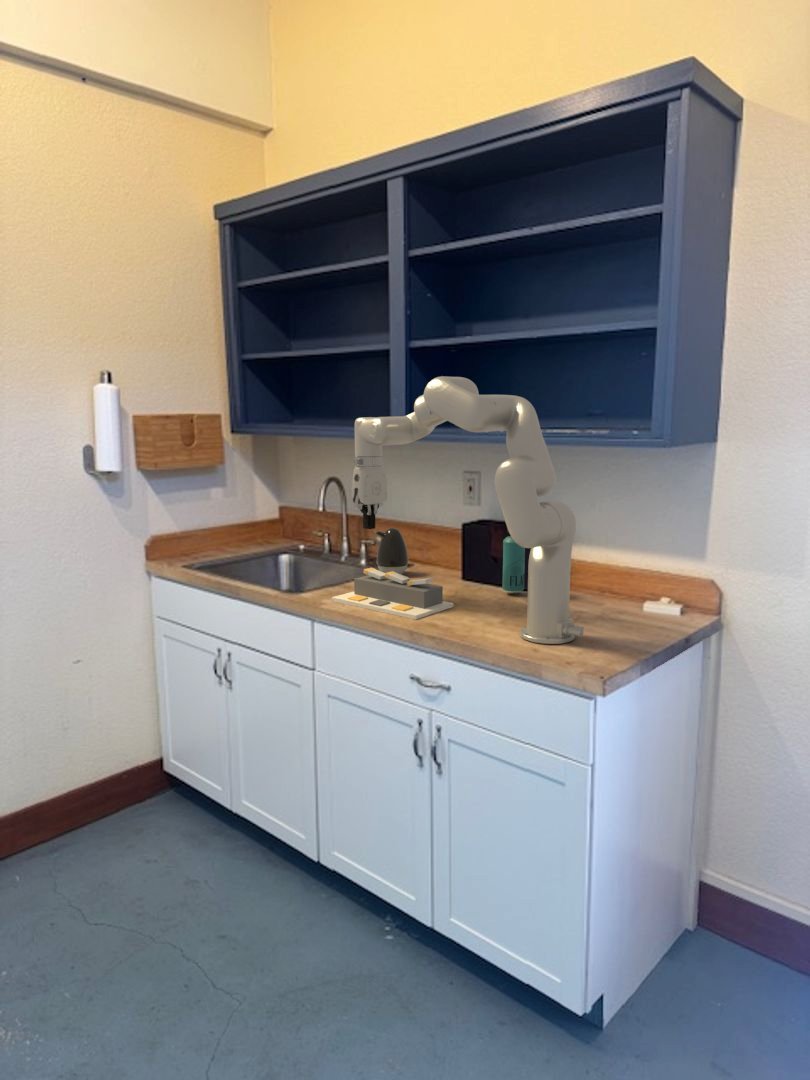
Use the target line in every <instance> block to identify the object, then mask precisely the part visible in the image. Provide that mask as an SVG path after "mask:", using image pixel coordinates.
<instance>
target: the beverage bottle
mask: <svg viewBox="0 0 810 1080" xmlns="http://www.w3.org/2000/svg"><path fill="white" fill-rule="evenodd" d="M506 528H507V527H506ZM506 533H507V534H510V533H509V531H508V528H507V529H506ZM526 549H527V548H524V547H521V546H519V545H518V544H517V543H516V542H515V541H514V540H513V539H512V537H511V535H510V536H506V537H505V538H504V539H503V541H502V551H503V552H502V579H501V580H502V586H501V587H502V590H503V591H505V592H513V593H516V592H517V593H518V592H523V591H524V589H525V584H526V583H525V582H526V581H525V580H526V576H525V573H526V568H525V567H526V566H525V565H526V563H525V562H526Z"/></svg>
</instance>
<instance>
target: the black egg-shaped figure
mask: <svg viewBox="0 0 810 1080" xmlns="http://www.w3.org/2000/svg"><path fill="white" fill-rule="evenodd" d="M375 534H376V535H377V536H380V537H381V538H380V541H379V543H378V544H379V545H378V548H377V555H376V565H377V567H378V570H379V571H381V572H384V573H388V572H392V571H394V572H396V573H398V574H401V575H403V574H404V573H405V572H406V570H407V568H408V565H409V555H408V547H407V545H406V542H405V538H404V537H403V534H402V533H401V532H400V530H399V529H398V528H395V527H390V528H387V529H385V531H384V532H382V531H378V530H376V533H375Z"/></svg>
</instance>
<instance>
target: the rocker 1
mask: <svg viewBox="0 0 810 1080" xmlns="http://www.w3.org/2000/svg"><path fill="white" fill-rule="evenodd" d="M362 573H363V574H364V575H370V576H372V577H375V578H377V579H380V580H381V579H385V578H386V577H385V573H384V572H381V571H380V570H379V569H376V568H374V567H369V568H368V567H367V568H363V572H362Z"/></svg>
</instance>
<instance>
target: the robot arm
mask: <svg viewBox="0 0 810 1080" xmlns="http://www.w3.org/2000/svg"><path fill="white" fill-rule="evenodd" d="M445 422H449V423H451V424H452V425H453V424H454V425H455V426H456V427H458V428H461V429H462V430H464V431H466V432H467V431H468V432H470V433H491V432H502V431H503V432H505V431H506V437H505V443H506V444H505V445H506V448H507V451H508V455H509V458H508V459H506V460H504V461H503V462H501V464H499V466H498V468H496V471H495V475H494V489H495V492H496V496H497V500H498V502H499V505H500V508H501V512H502V514H503V519H504V522H505V525H506V528H508V531H509V533H508V534H509V535H510V536H511V537H512V539H513V540H514V541H515V542H516V543H517V544H518V545H519V546H521V547H524V548H525V549H530V551H529V555H528V557H529V558H528V565H527V566H528V570H527V574H528V575H527V605H526V609H527V610H526V626H523V627H522V628H521V629H520V630H519V635H520V637H521V638H522V639H524V640H526V641H528V642H532V643H536V644H542V645H544V644H546V645H555V644H556V645H557V644H558V645H560V644H567V643H570V642H572V641H574V640H575V638H576V637H577V638H583V636H584V626H579V625H575V624H574V618H572V617H570V596H571V595H570V594H571V593H570V591H571V567H572V553H573V552H572V551H573V546H574V545H573V544H574V540H575V535H576V530H577V521H576V520H577V519H576V515H575V513H574V511H573V509H572V508H571V507H570V506H569V505H568V504H566V503H565V502H563V501H558V500H547V501H542V502H540V501H539V498H542V497H544V496H545V497H546V496H547V495H549V494H551V493H552V492H553V491H554V489H555V487H556V484H557V476H556V472H555V468H554V465H553V462H552V459H551V456H550V453H549V449H548V447H547V444H546V441H545V439H544V436H543V432H542V429H541V426H540V421H539V416H538V414H537V411H536V409H535V407H534V405H532V403H531V402H530V401H529V400H528V399H526V398H525V397H522V396H518V395H512V394H479V389H478V387H477V384H476V383H474V382H473V381H472V380H471V379H469V378H466V377H462V376H443V375H441V376H437V377H434V378H433V379H431V380H430V381H429V382H428V383H427V384H426V386H425V388H424V391H423V394H422V395H419V396H418V397H417V398H416V399H415V401H414V404H413V412H411V413H409V414H407V415H404V416H399V415H398V416H395V415H394V416H378V417H374V416H373V417H372V416H368V417H363V416H362V417H358V418H356V419H355V421H354V460H353V463H354V468H353V475H352V485H351V499H352V503H353V504H354V506H353V507H354V509H355V510H359V511H360V513H361V515H362V528H363V529H367V530H373V529H374V530H375V529H376V515H377V513H378V509H379V508H380V507H382V506H384V503H386V501H388V486H387V485H388V484H387V475H386V469H385V467H384V466H383V446H395V445H396V446H397V445H407V444H411V443H414V442H415V441H416V442H417V441H418V440H420V439H423V438H425V437H426V436H429V435H430V434H431V433H432V432H433V431H434V430H435V428H436V427H437V426H438V425H439V426H440V425H442V424H443V423H445Z"/></svg>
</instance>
